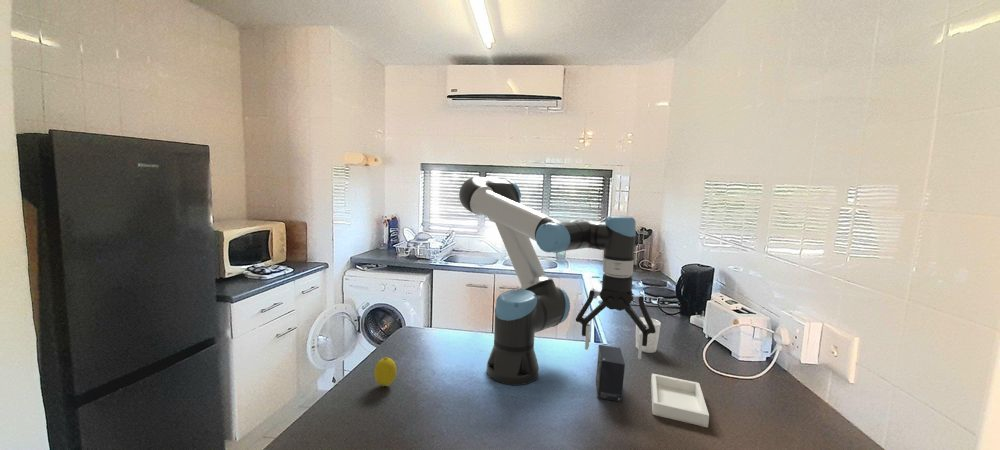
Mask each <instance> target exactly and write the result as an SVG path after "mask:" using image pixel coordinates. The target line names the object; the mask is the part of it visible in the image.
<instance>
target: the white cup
mask: <svg viewBox="0 0 1000 450" xmlns="http://www.w3.org/2000/svg"><path fill="white" fill-rule="evenodd" d="M638 317H639V318H640V320H641V321H642V322H643V323H644V325H645V326H646V327H648V325H647V322H646V320H645V318H644V316H643V317H642V316H641V317H640V316H638ZM651 320H652V322H653V324H654V326H655V331H656V332H655V333H650V334H648V336H647V345H646V346H642V353H649V354H652V353H656V352H657V348H658V343H659V337H660V329H661V322H660V321H659V320H657V319H655V318H651ZM640 331H641V330H640V329H639V327H638V326H637V325H636V324H635V348H636V349H637V350H638V349H639V334H640Z"/></svg>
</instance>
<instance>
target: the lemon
mask: <svg viewBox="0 0 1000 450" xmlns="http://www.w3.org/2000/svg"><path fill="white" fill-rule="evenodd" d="M395 362H396V361H394V360H393V359H392V358H390V357H387V356H385V357H383V358H380V360H378V362H377V363H376V364H375V368H374V379H375V382H376V383H377V384H378V385H380V386H382V387H384V386H386V387H387V386H389V385H391V384H392V383H393V382H394V381H395V379H396V376H397V366H396V363H395Z"/></svg>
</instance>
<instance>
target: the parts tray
mask: <svg viewBox="0 0 1000 450" xmlns="http://www.w3.org/2000/svg"><path fill="white" fill-rule="evenodd" d="M650 379H651V380H650V388H651V389H650V390H651V391H650V393H651V410H652V411H651V413H652V415H653V416H657V417H662V418H666V419H671V420H674V421H678V422H683V423H686V424H691V425H696V426H699V427H703V428H709V422H710V421H709V420H710V414H709V409H708V407H707V404H706V401H705V398H704V397H705V396H704V394H703V391H702V388H701V385H700V383H699V382H697V381H692V380H686V379H683V378H682V379H680V378H677V377H671V376H667V375H662V374H656V373H651V377H650Z"/></svg>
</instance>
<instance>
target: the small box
mask: <svg viewBox="0 0 1000 450" xmlns="http://www.w3.org/2000/svg"><path fill="white" fill-rule="evenodd" d="M597 351H598V352H597V363H596V365H597V366H596V373H595V385H596V395H597V396H596V397H597V399H604V400H609V401H615V402H622V401H623V400H622V399H623V390H624V389H623V388H624V377H625V367H626V364H625V363H626V362H625V360H624V356H623V353H622V349H621V347H616V346H609V345H603V344H598V350H597Z"/></svg>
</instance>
